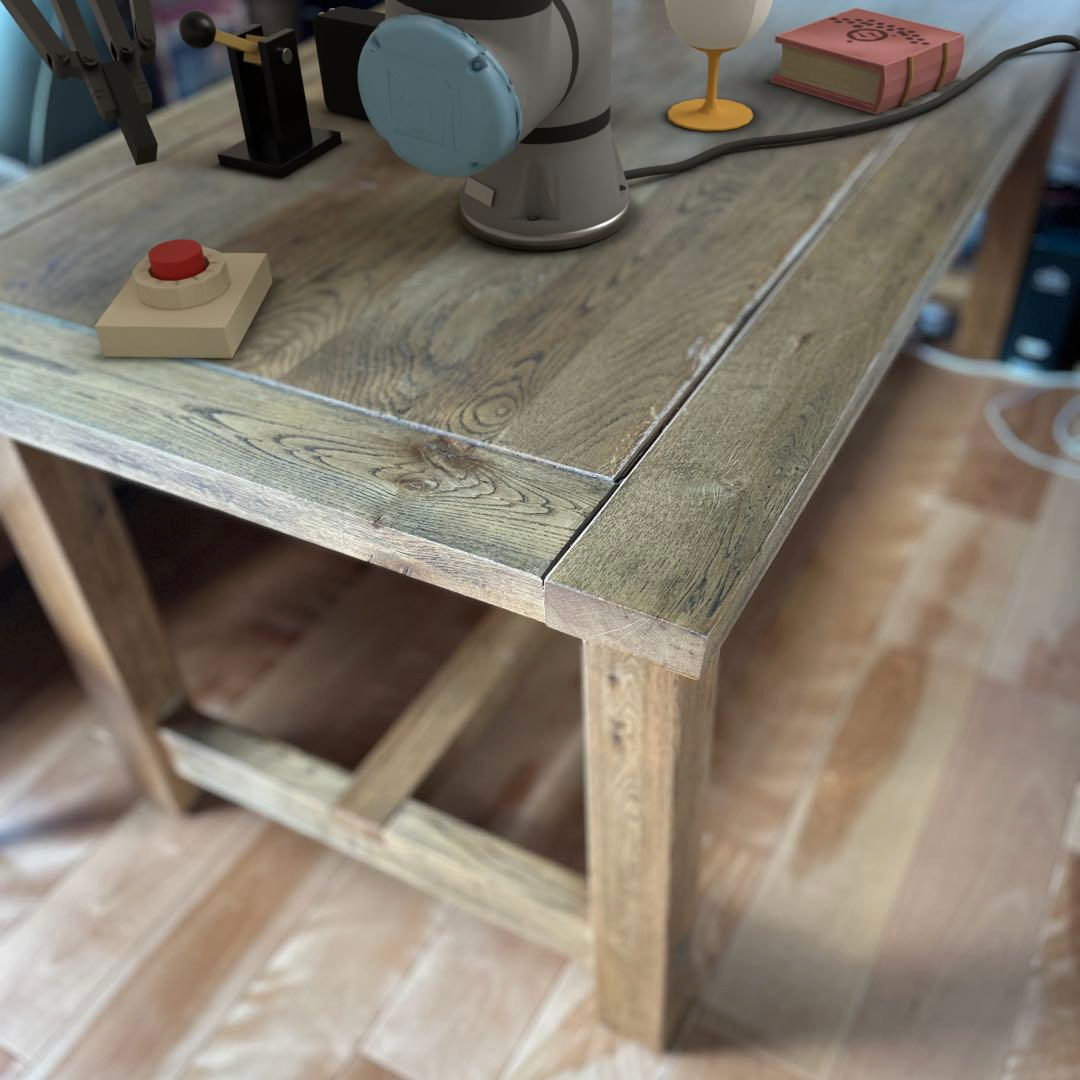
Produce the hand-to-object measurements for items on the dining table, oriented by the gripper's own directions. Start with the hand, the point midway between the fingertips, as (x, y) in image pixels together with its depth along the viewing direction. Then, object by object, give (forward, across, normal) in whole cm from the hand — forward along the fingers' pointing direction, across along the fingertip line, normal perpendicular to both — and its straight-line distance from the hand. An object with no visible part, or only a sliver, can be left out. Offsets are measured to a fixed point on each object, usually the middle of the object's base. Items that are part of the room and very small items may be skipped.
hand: (146, 154), depth 80 cm
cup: (+2, -60, -16) cm, 63 cm away
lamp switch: (-10, -19, -29) cm, 36 cm away
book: (+4, -81, -14) cm, 82 cm away
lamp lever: (-16, -15, -19) cm, 29 cm away
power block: (+10, 0, -9) cm, 13 cm away
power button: (+7, 0, -6) cm, 9 cm away
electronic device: (-13, -31, -32) cm, 47 cm away
